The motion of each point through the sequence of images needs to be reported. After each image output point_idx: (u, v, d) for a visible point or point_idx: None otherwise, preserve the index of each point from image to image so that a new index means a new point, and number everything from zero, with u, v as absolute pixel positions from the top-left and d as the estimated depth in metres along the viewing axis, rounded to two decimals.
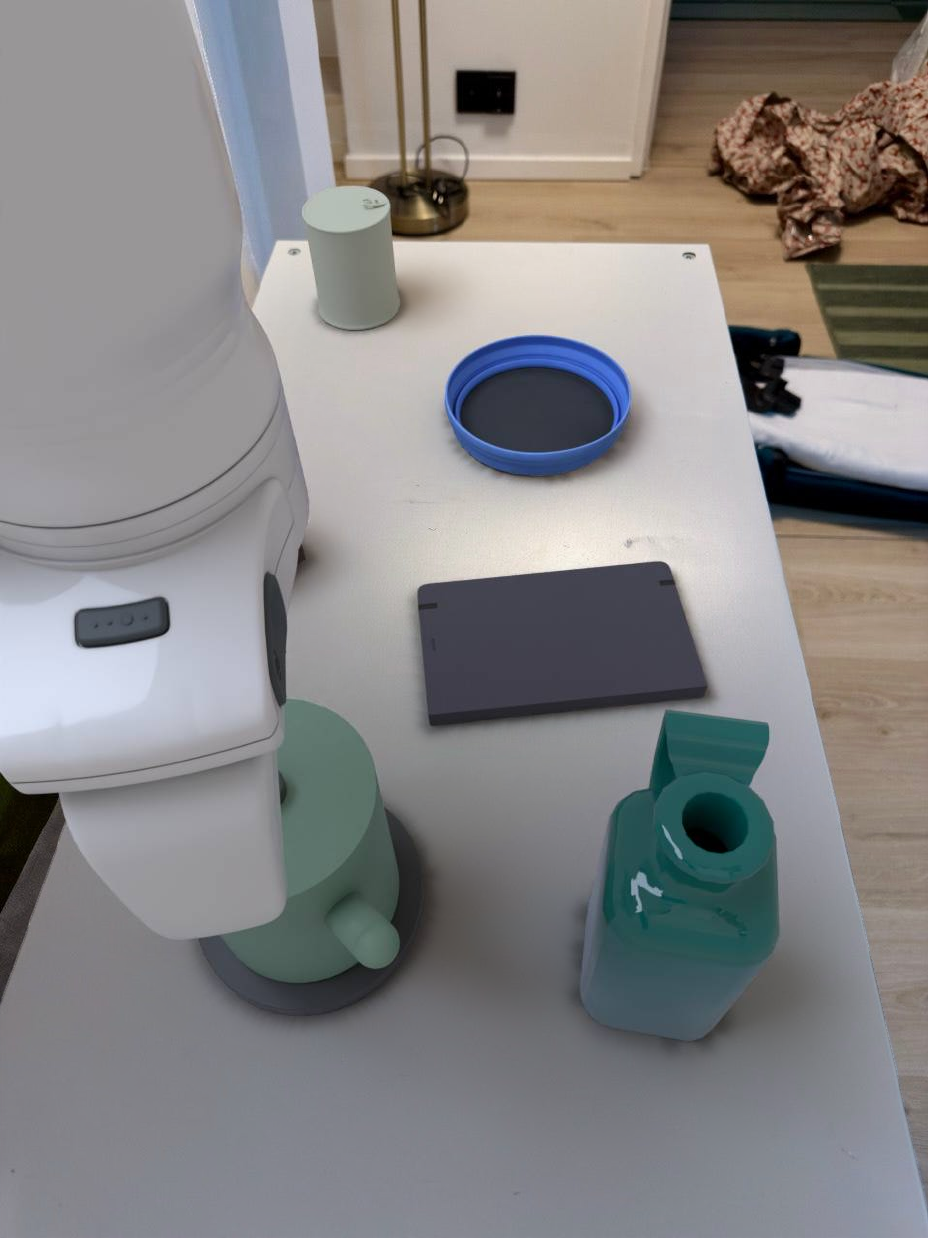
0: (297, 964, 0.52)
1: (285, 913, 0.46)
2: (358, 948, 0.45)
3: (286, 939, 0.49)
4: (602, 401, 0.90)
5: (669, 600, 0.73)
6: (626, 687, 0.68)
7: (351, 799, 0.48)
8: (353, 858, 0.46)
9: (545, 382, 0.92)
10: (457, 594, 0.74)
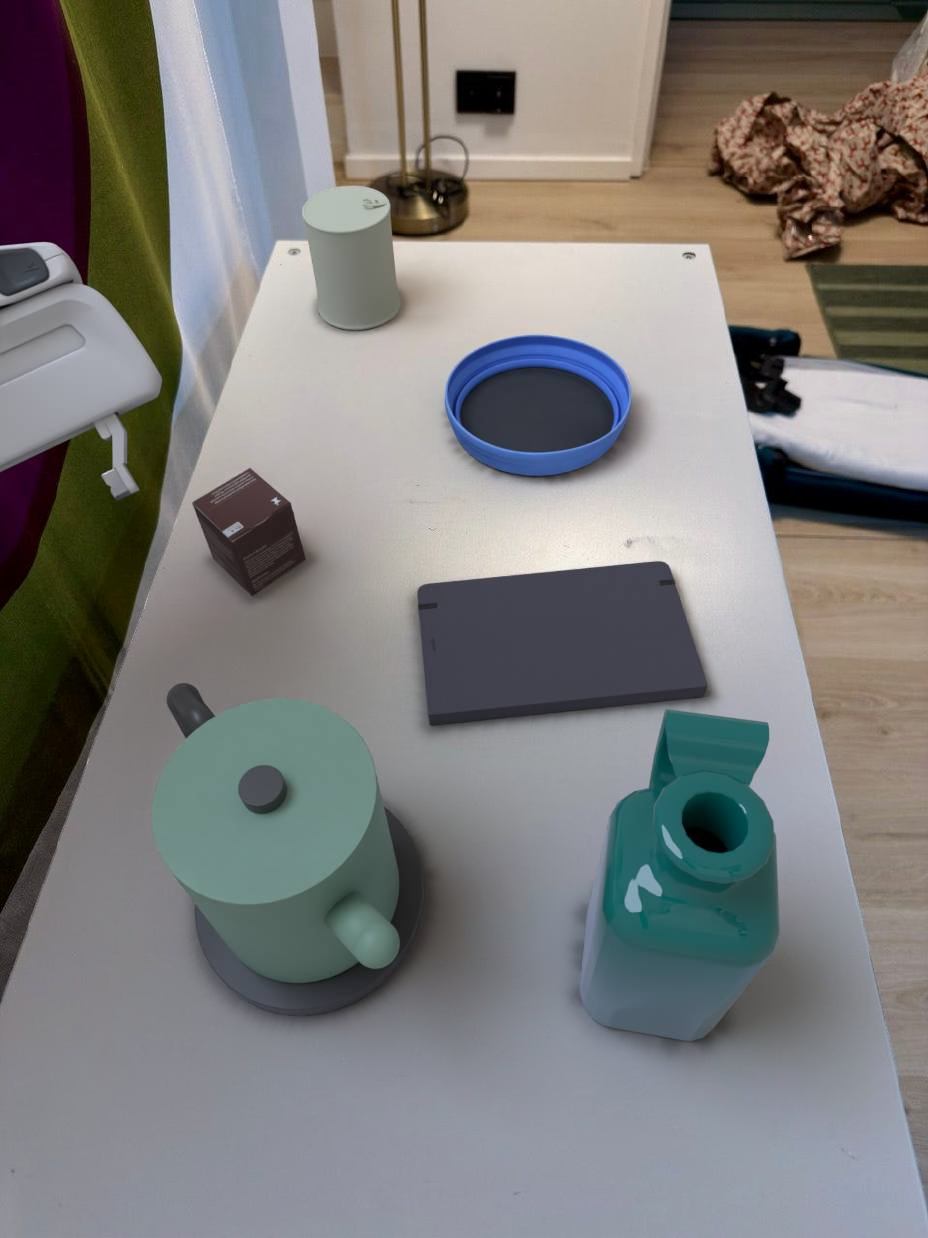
0: (297, 964, 0.52)
1: (285, 913, 0.46)
2: (358, 948, 0.45)
3: (286, 939, 0.49)
4: (602, 401, 0.90)
5: (669, 600, 0.73)
6: (626, 687, 0.68)
7: (351, 799, 0.48)
8: (353, 858, 0.46)
9: (545, 382, 0.92)
10: (457, 594, 0.74)
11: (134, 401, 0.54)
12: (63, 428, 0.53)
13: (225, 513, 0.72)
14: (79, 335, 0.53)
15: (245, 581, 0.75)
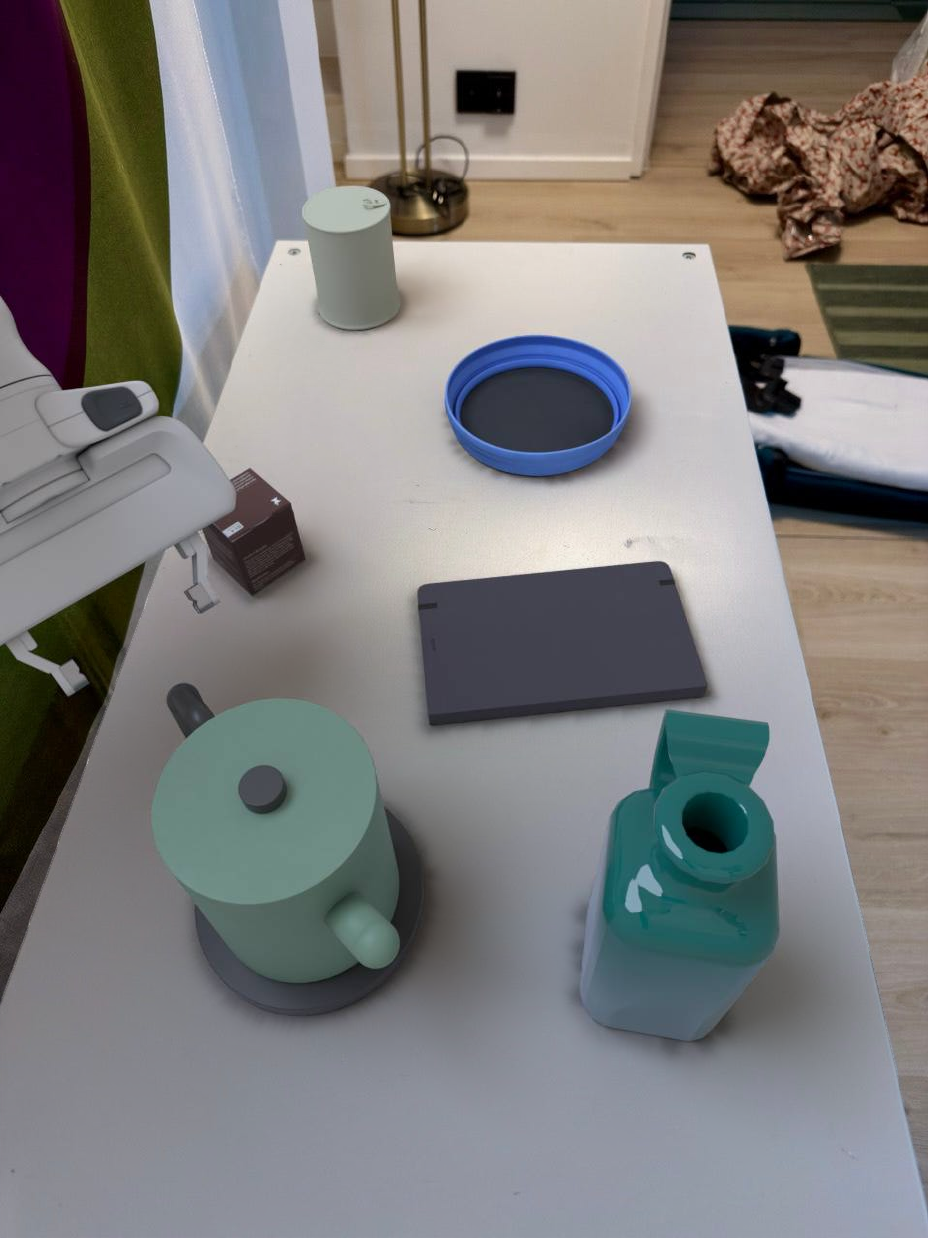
0: (297, 964, 0.52)
1: (285, 913, 0.46)
2: (358, 948, 0.45)
3: (286, 939, 0.49)
4: (602, 401, 0.90)
5: (669, 600, 0.73)
6: (626, 687, 0.68)
7: (351, 799, 0.48)
8: (353, 858, 0.46)
9: (545, 382, 0.92)
10: (457, 594, 0.74)
11: (216, 519, 0.58)
12: (154, 549, 0.56)
13: None
14: (164, 463, 0.56)
15: (245, 581, 0.75)
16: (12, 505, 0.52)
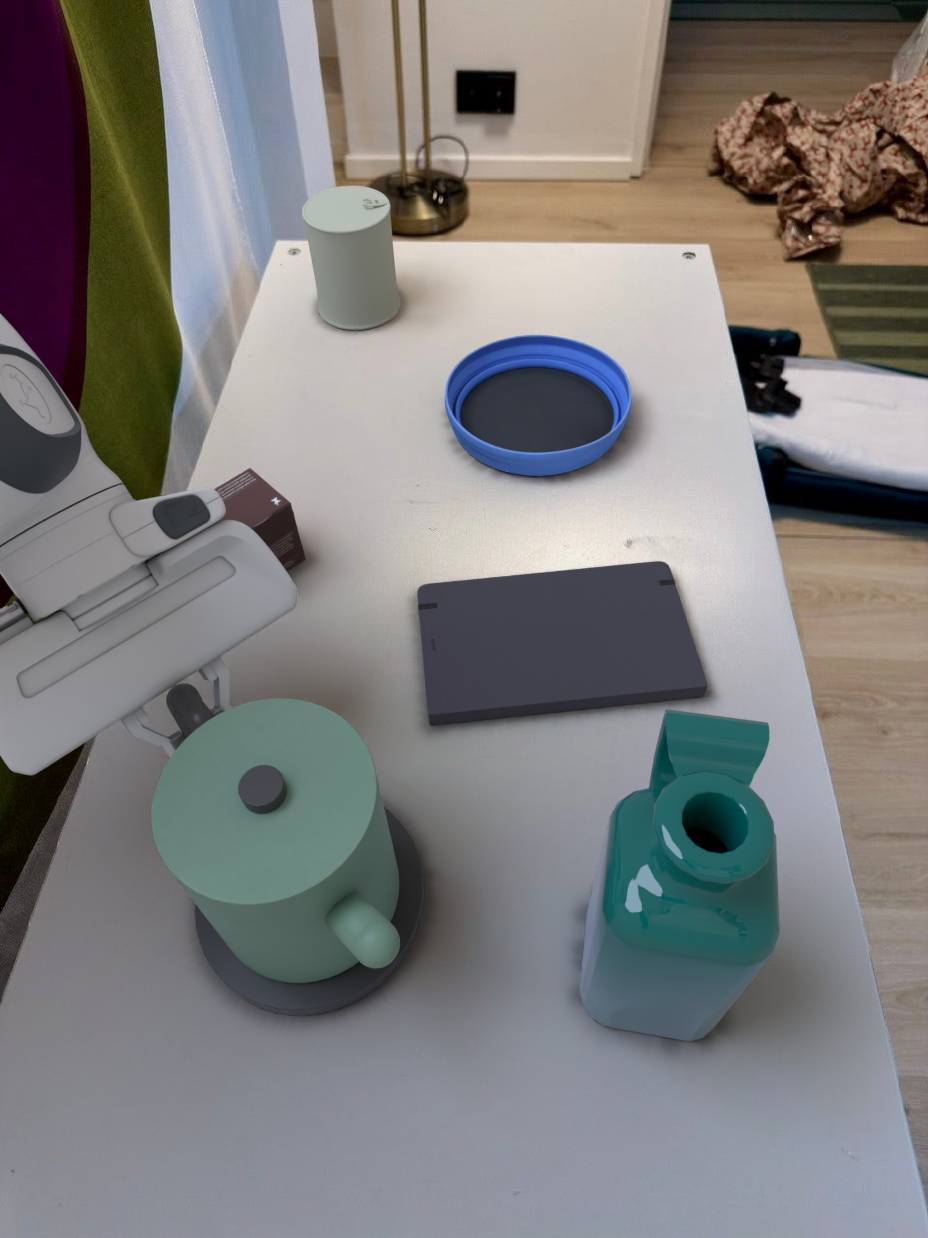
0: (297, 964, 0.52)
1: (285, 913, 0.46)
2: (358, 948, 0.45)
3: (286, 939, 0.49)
4: (602, 401, 0.90)
5: (669, 600, 0.73)
6: (626, 687, 0.68)
7: (351, 799, 0.48)
8: (353, 858, 0.46)
9: (545, 382, 0.92)
10: (457, 594, 0.74)
11: (278, 618, 0.59)
12: (219, 651, 0.57)
13: (225, 513, 0.72)
14: (229, 565, 0.57)
15: None
16: (85, 614, 0.53)
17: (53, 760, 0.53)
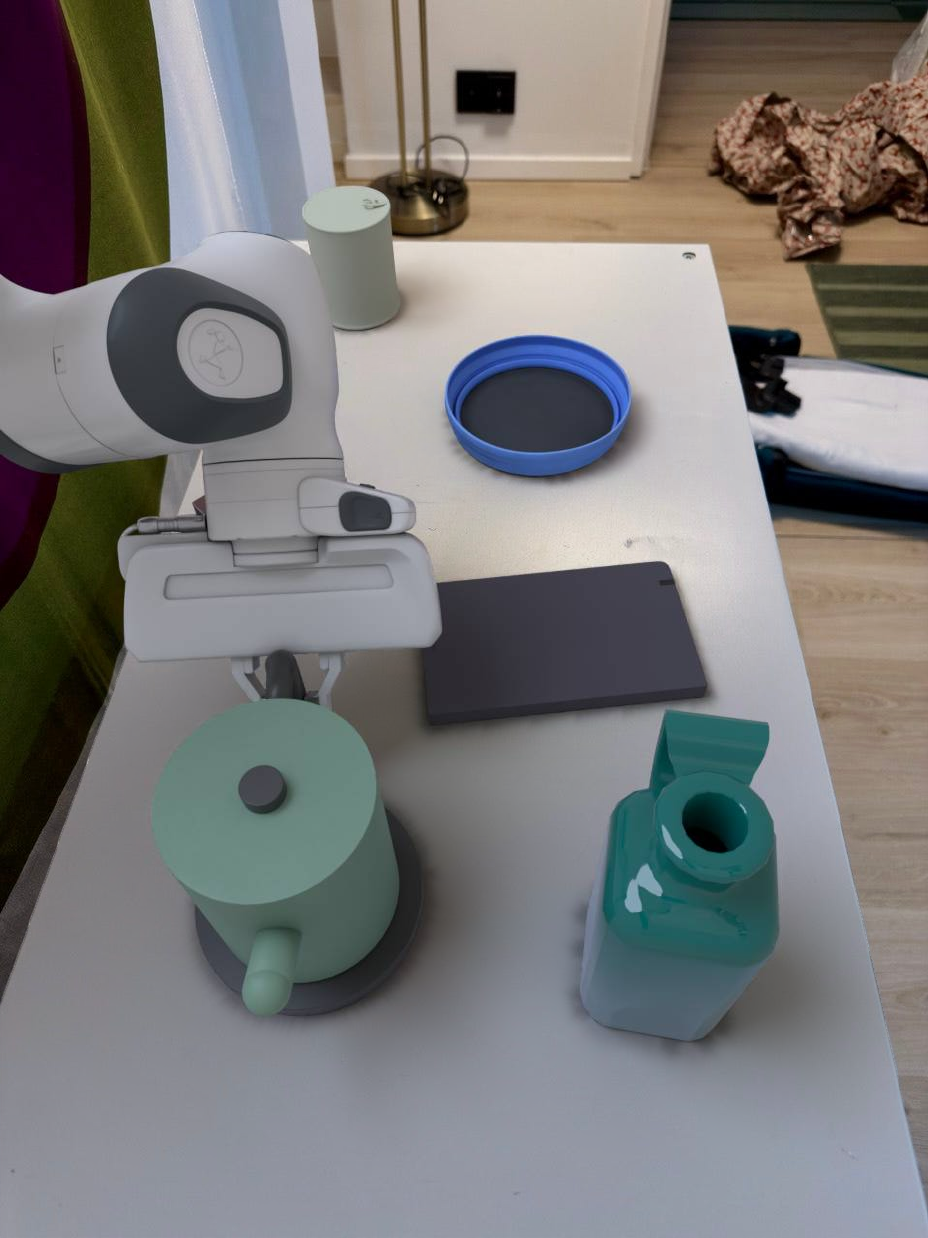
0: (238, 951, 0.53)
1: (214, 908, 0.46)
2: (245, 984, 0.44)
3: (221, 928, 0.49)
4: (602, 401, 0.90)
5: (669, 600, 0.73)
6: (626, 687, 0.68)
7: (325, 847, 0.46)
8: (291, 901, 0.45)
9: (545, 382, 0.92)
10: (457, 594, 0.74)
11: None
12: (339, 647, 0.57)
13: None
14: (390, 577, 0.56)
15: None
16: (242, 555, 0.55)
17: (159, 659, 0.57)
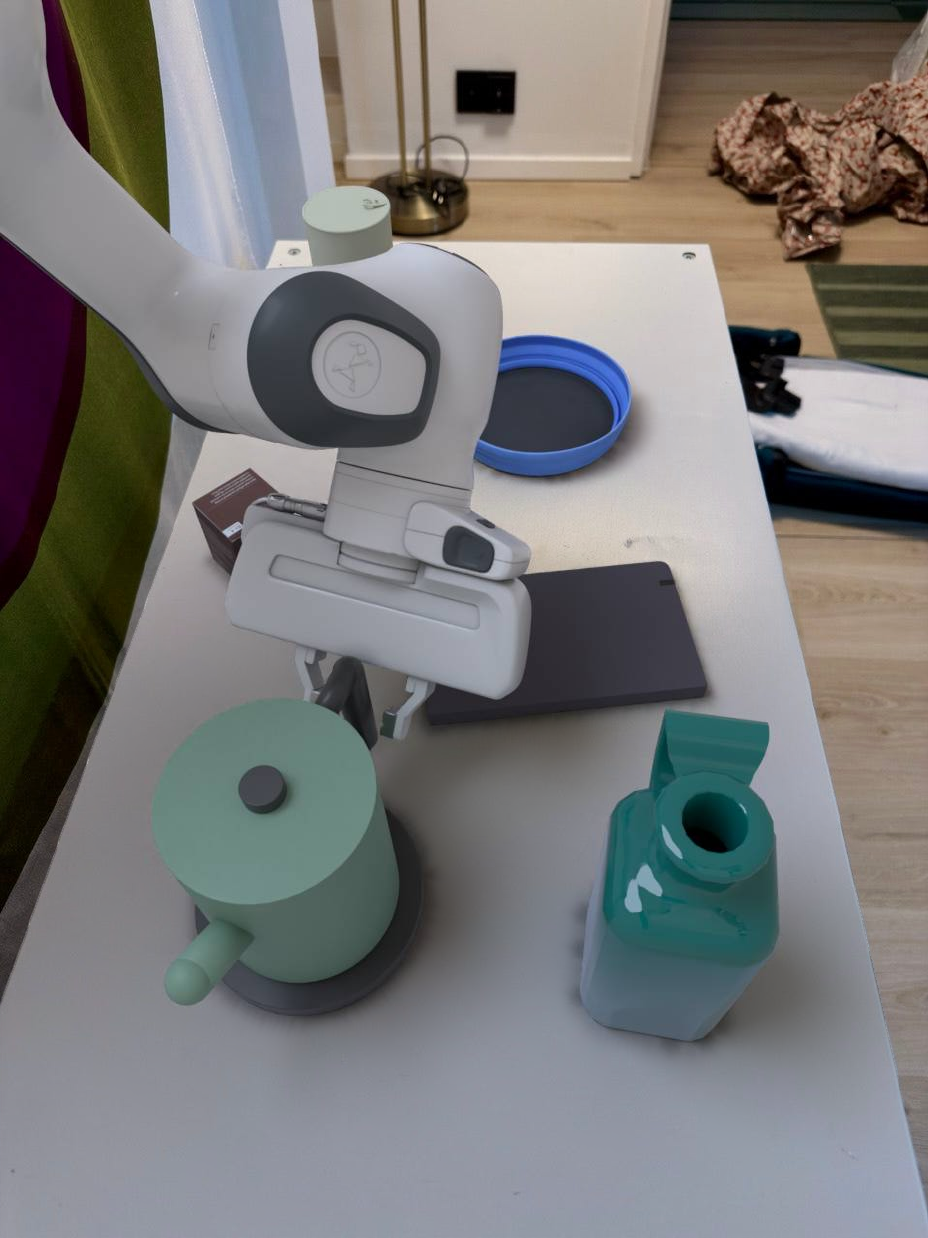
0: None
1: None
2: (171, 966, 0.45)
3: None
4: (602, 401, 0.90)
5: (669, 600, 0.73)
6: (626, 687, 0.68)
7: (291, 870, 0.45)
8: (240, 908, 0.45)
9: (545, 382, 0.92)
10: None
11: None
12: (411, 672, 0.56)
13: (225, 513, 0.72)
14: (479, 619, 0.55)
15: None
16: (345, 556, 0.56)
17: (248, 629, 0.59)
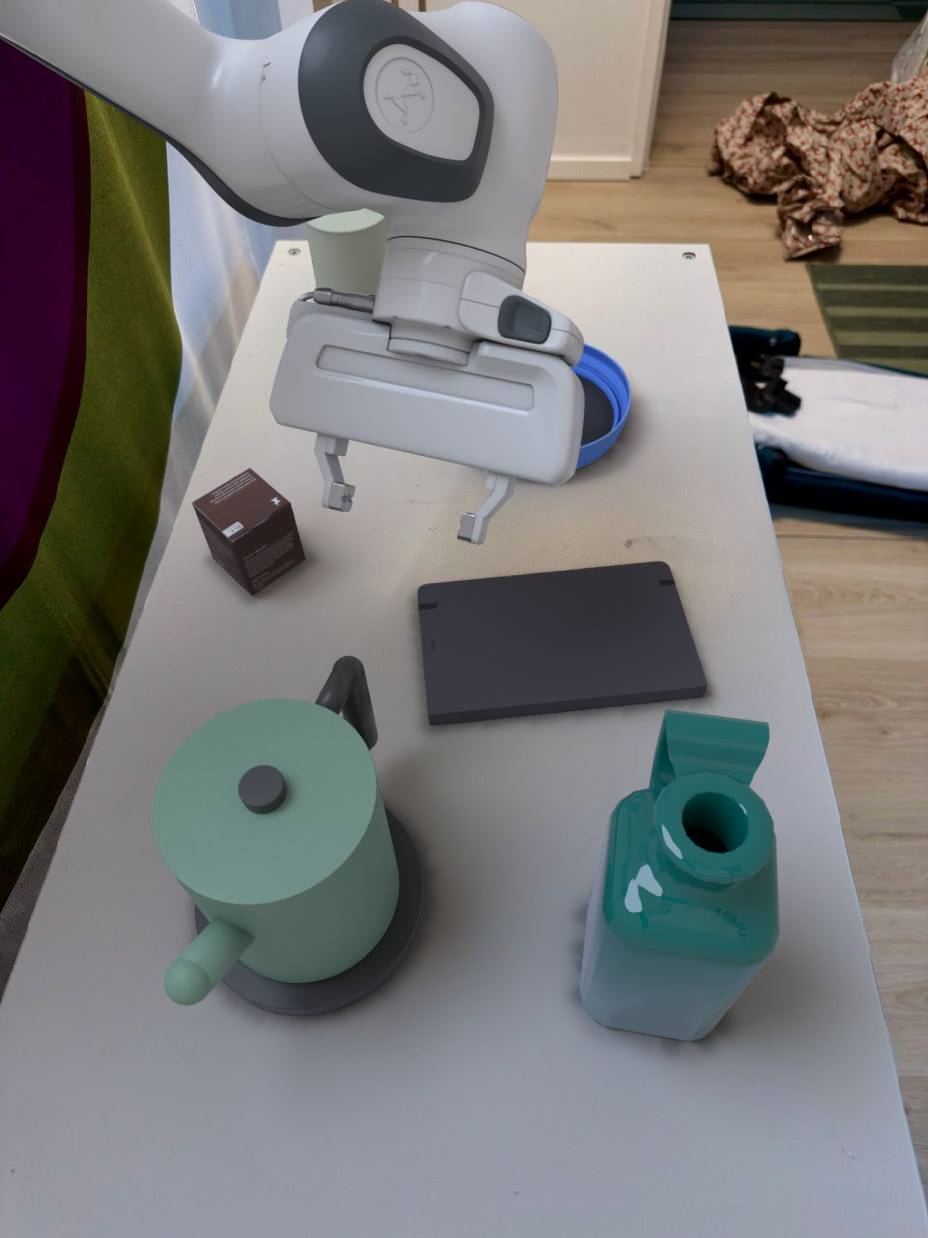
0: None
1: None
2: (171, 966, 0.45)
3: None
4: (602, 401, 0.90)
5: (669, 600, 0.73)
6: (626, 687, 0.68)
7: (291, 870, 0.45)
8: (240, 908, 0.45)
9: None
10: (457, 594, 0.74)
11: (530, 479, 0.54)
12: (462, 459, 0.55)
13: (225, 513, 0.72)
14: (533, 400, 0.54)
15: (245, 581, 0.75)
16: (396, 339, 0.54)
17: (294, 425, 0.58)
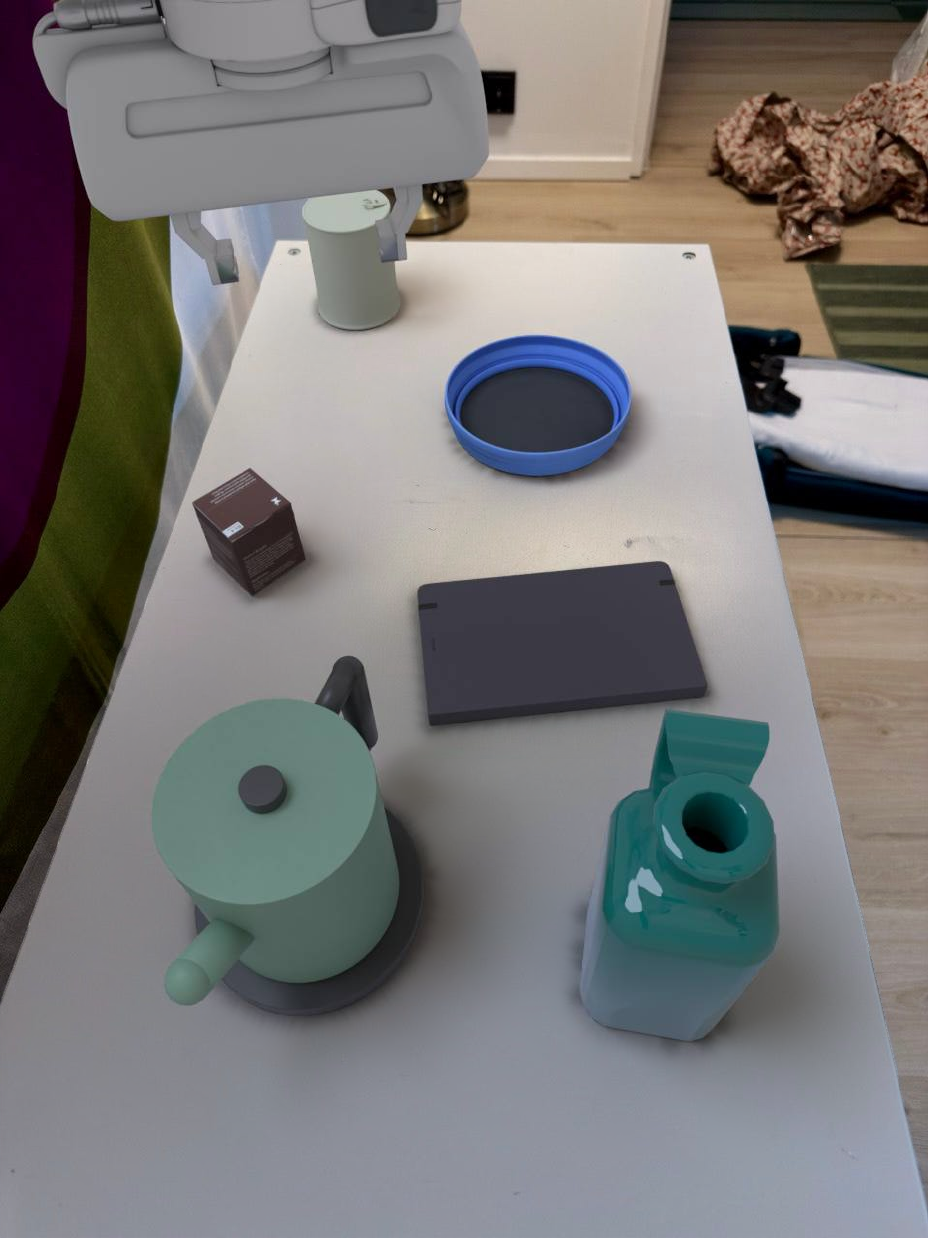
0: None
1: None
2: (171, 966, 0.45)
3: None
4: (602, 401, 0.90)
5: (669, 600, 0.73)
6: (626, 687, 0.68)
7: (291, 870, 0.45)
8: (240, 908, 0.45)
9: (545, 382, 0.92)
10: (457, 594, 0.74)
11: (449, 179, 0.47)
12: (366, 187, 0.46)
13: (225, 513, 0.72)
14: (427, 88, 0.43)
15: (245, 581, 0.75)
16: (230, 74, 0.40)
17: (140, 217, 0.45)
